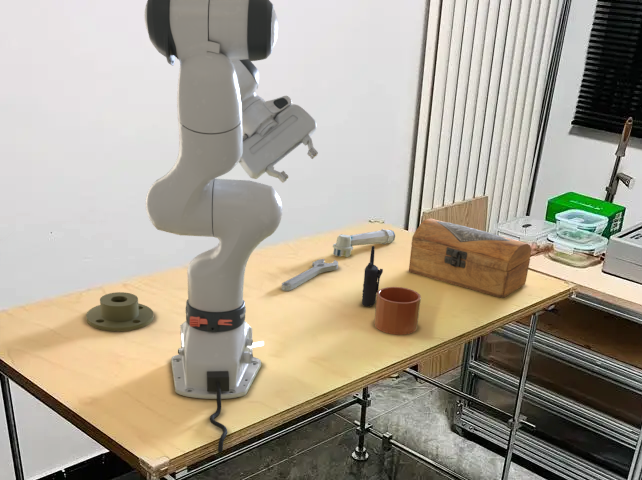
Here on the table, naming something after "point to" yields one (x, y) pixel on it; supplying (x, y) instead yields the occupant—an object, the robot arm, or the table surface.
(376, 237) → the toothbrush head
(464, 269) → the wooden box
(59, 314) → the table surface
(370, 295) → the two-way radio
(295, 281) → the adjustable wrench
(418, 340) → the table surface
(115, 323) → the flange
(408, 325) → the brown round pot
